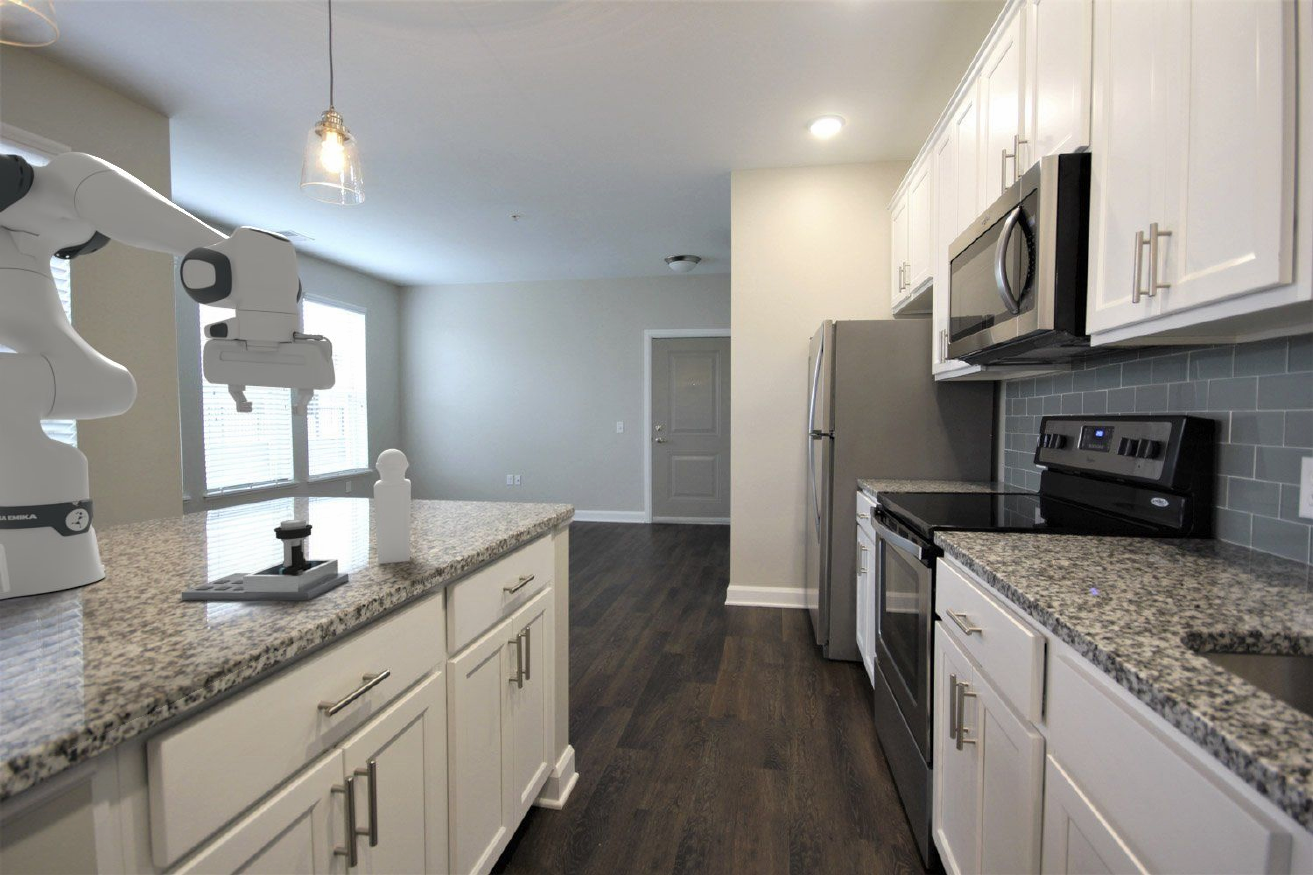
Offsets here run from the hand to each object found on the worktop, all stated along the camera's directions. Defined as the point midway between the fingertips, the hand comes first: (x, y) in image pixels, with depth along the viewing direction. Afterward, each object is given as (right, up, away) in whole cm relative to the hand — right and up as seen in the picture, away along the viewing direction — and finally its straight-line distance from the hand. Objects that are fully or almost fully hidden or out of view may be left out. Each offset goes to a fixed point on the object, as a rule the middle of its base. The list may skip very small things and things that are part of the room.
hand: (272, 413), depth 97 cm
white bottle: (+13, -28, +17) cm, 36 cm away
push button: (+5, -28, -3) cm, 29 cm away
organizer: (+1, -29, -2) cm, 29 cm away
